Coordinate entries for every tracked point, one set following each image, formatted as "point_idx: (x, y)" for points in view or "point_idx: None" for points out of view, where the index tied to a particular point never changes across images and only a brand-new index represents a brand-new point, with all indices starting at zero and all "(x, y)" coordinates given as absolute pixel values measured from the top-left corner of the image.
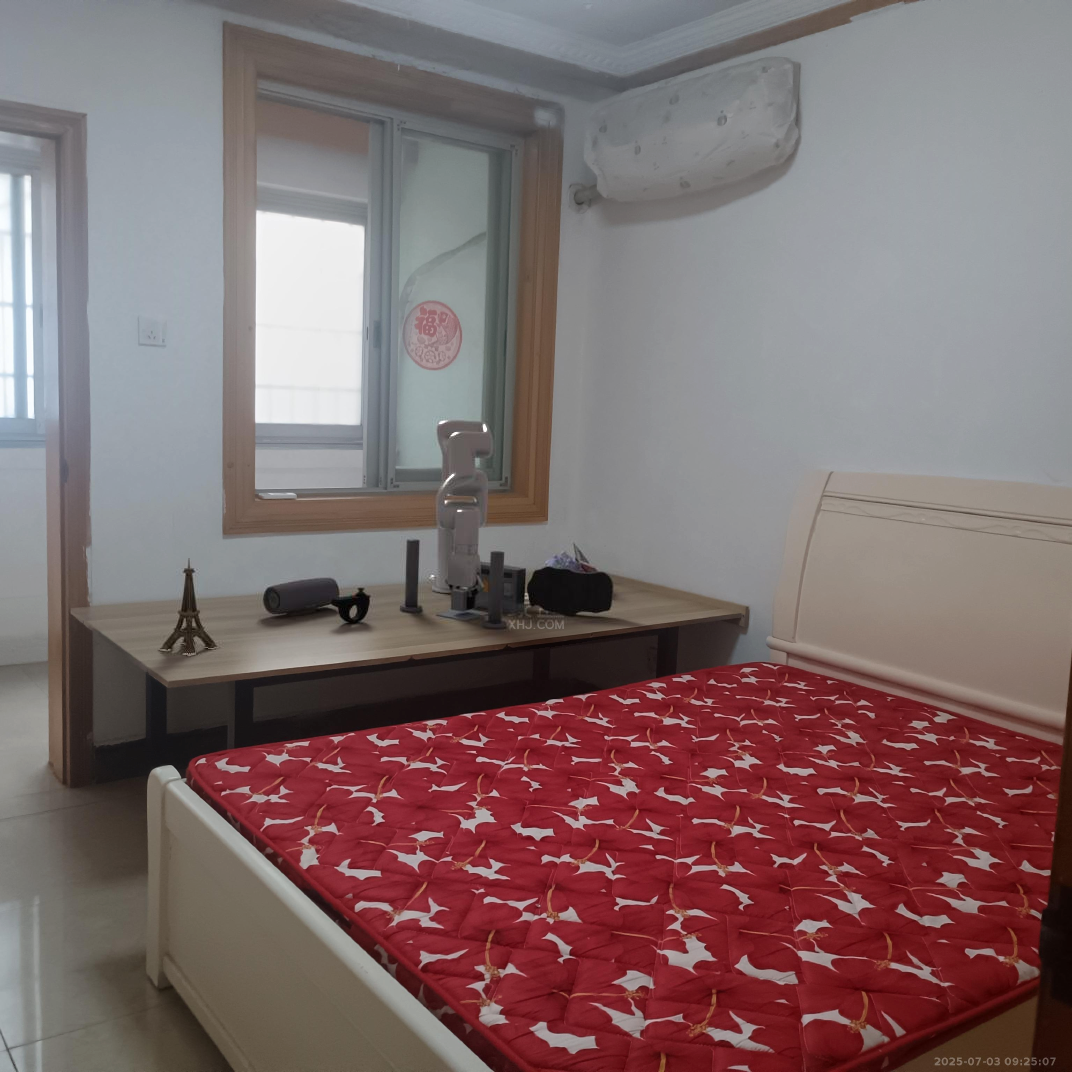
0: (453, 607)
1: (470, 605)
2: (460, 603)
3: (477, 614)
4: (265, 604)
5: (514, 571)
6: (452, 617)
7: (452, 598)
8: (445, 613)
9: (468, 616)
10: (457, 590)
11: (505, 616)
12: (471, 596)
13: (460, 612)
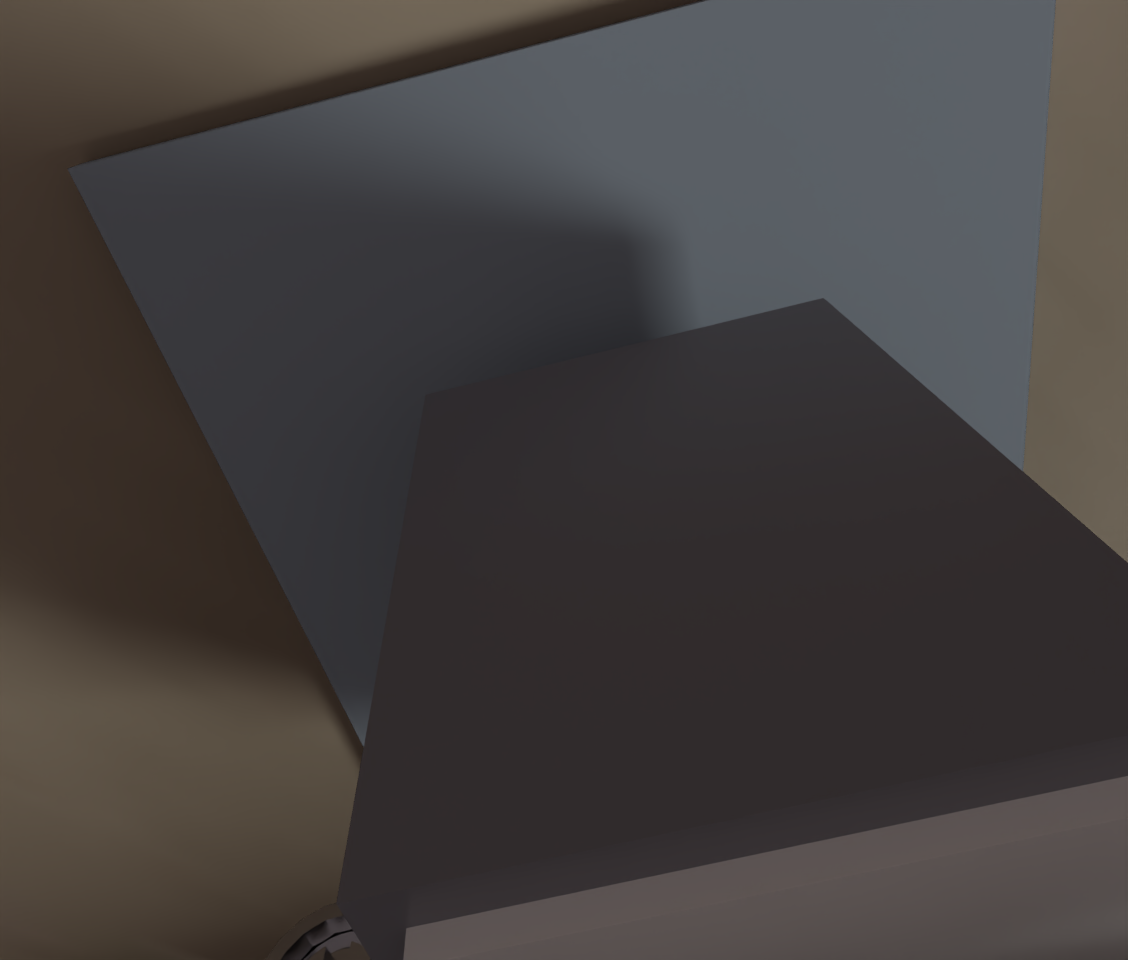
0: (754, 343)
1: None
2: (506, 485)
3: None
4: None
5: None
6: (487, 62)
7: (930, 460)
8: (923, 199)
9: (371, 461)
10: (876, 880)
11: (202, 934)
12: (279, 946)
13: None
